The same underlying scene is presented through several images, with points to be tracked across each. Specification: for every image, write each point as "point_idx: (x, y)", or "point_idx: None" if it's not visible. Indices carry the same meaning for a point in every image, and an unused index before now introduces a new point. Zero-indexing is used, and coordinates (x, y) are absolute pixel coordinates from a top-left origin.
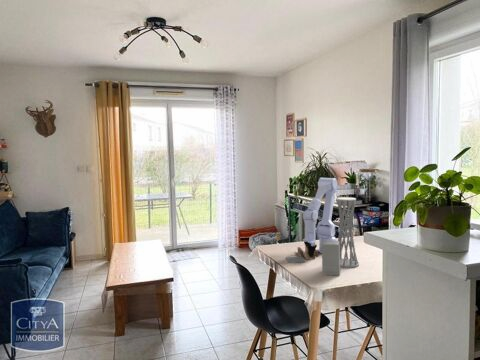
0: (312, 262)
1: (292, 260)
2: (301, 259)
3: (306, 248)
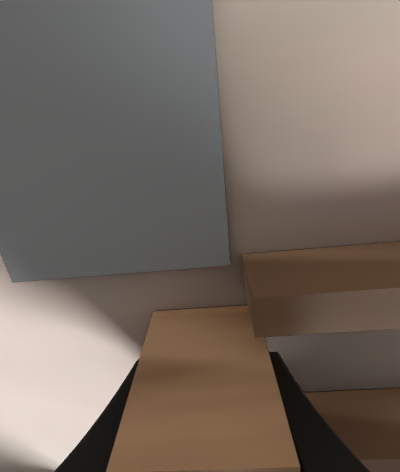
0: (37, 346)
1: (9, 101)
2: (93, 247)
3: (165, 453)
